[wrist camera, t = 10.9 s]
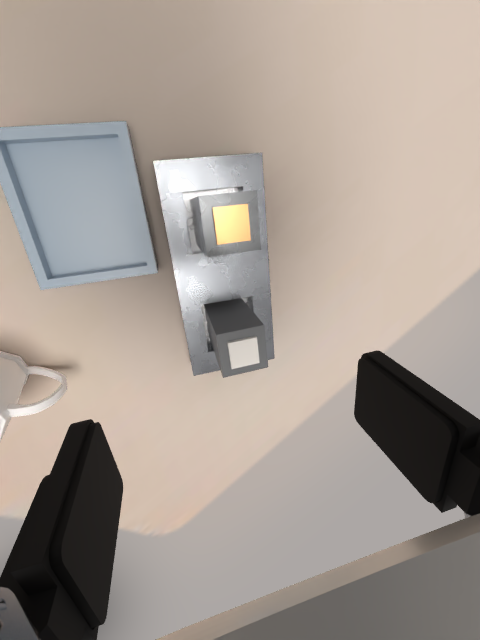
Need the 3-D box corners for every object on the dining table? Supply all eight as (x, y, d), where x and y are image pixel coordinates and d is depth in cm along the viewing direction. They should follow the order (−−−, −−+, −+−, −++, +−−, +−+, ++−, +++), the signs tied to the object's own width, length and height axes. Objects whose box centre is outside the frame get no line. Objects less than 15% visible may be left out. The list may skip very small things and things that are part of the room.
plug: (203, 304, 30) (216, 336, 22) (240, 297, 30) (265, 326, 23) (209, 338, 31) (223, 379, 24) (244, 331, 32) (269, 368, 25)
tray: (-7, 134, 22) (-21, 128, 20) (128, 127, 24) (125, 121, 22) (48, 285, 27) (40, 289, 25) (158, 269, 28) (157, 273, 27)
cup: (-49, 340, 26) (-131, 390, 19) (72, 335, 29) (41, 378, 21) (-29, 403, 29) (-94, 470, 21) (81, 394, 31) (56, 451, 24)
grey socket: (154, 166, 25) (149, 144, 17) (252, 158, 27) (291, 135, 19) (191, 362, 33) (200, 414, 24) (265, 346, 35) (298, 391, 26)
